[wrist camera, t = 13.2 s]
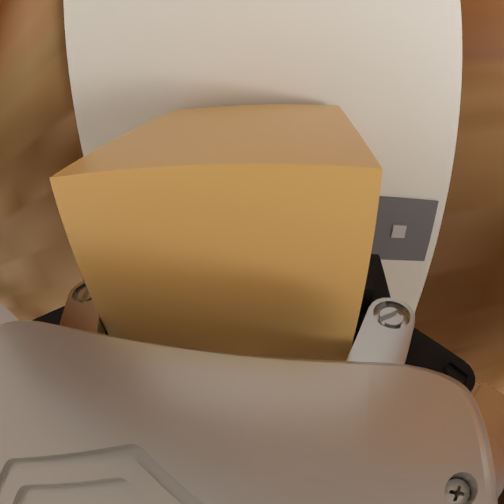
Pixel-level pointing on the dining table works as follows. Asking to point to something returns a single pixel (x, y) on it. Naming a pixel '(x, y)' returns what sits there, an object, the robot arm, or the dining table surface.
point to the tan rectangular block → (228, 229)
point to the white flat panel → (291, 87)
